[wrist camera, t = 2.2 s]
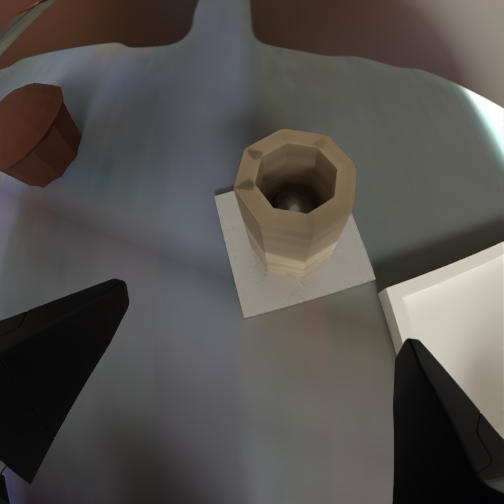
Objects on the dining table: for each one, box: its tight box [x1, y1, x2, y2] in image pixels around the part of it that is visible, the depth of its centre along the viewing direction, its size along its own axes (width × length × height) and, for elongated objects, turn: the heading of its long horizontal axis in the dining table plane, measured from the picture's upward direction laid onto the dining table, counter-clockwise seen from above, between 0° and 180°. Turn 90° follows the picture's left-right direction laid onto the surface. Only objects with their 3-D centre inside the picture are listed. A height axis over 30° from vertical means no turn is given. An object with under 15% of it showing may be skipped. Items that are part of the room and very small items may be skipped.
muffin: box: [0, 83, 82, 187], centre depth 25 cm, size 12×11×10 cm
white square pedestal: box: [214, 188, 376, 319], centre depth 21 cm, size 10×10×6 cm
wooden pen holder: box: [233, 129, 357, 277], centre depth 19 cm, size 6×6×8 cm
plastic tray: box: [378, 242, 504, 439], centre depth 18 cm, size 16×16×2 cm
